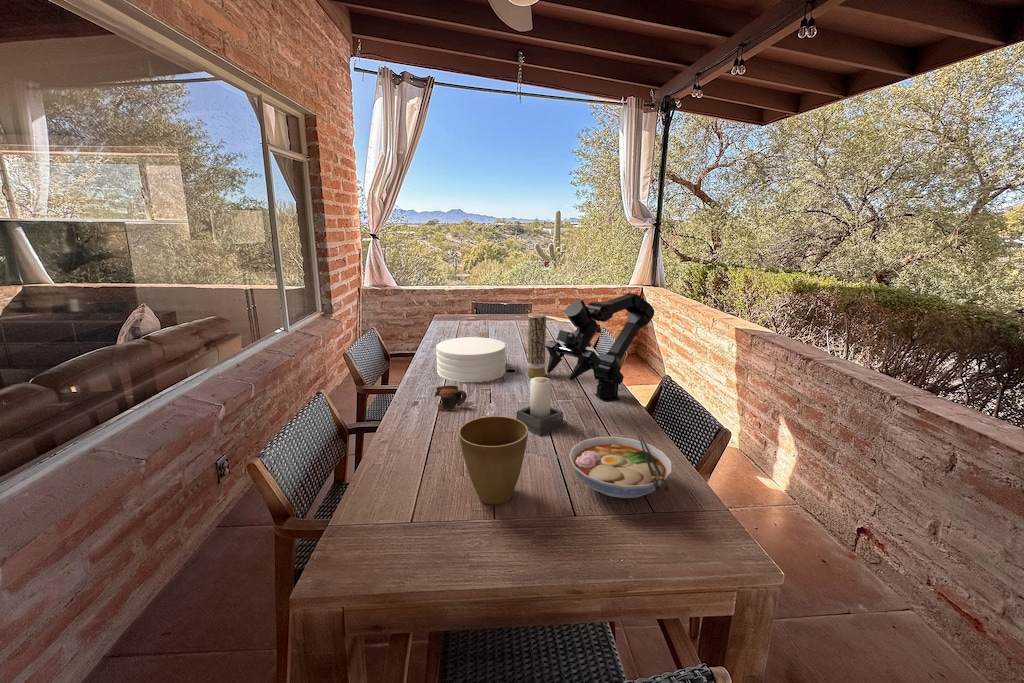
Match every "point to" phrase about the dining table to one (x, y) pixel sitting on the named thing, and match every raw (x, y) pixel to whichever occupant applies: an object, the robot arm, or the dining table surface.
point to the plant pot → (494, 455)
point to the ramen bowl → (621, 466)
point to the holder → (541, 421)
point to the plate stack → (471, 359)
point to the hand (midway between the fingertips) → (558, 375)
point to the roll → (540, 397)
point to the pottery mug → (450, 397)
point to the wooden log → (536, 344)
